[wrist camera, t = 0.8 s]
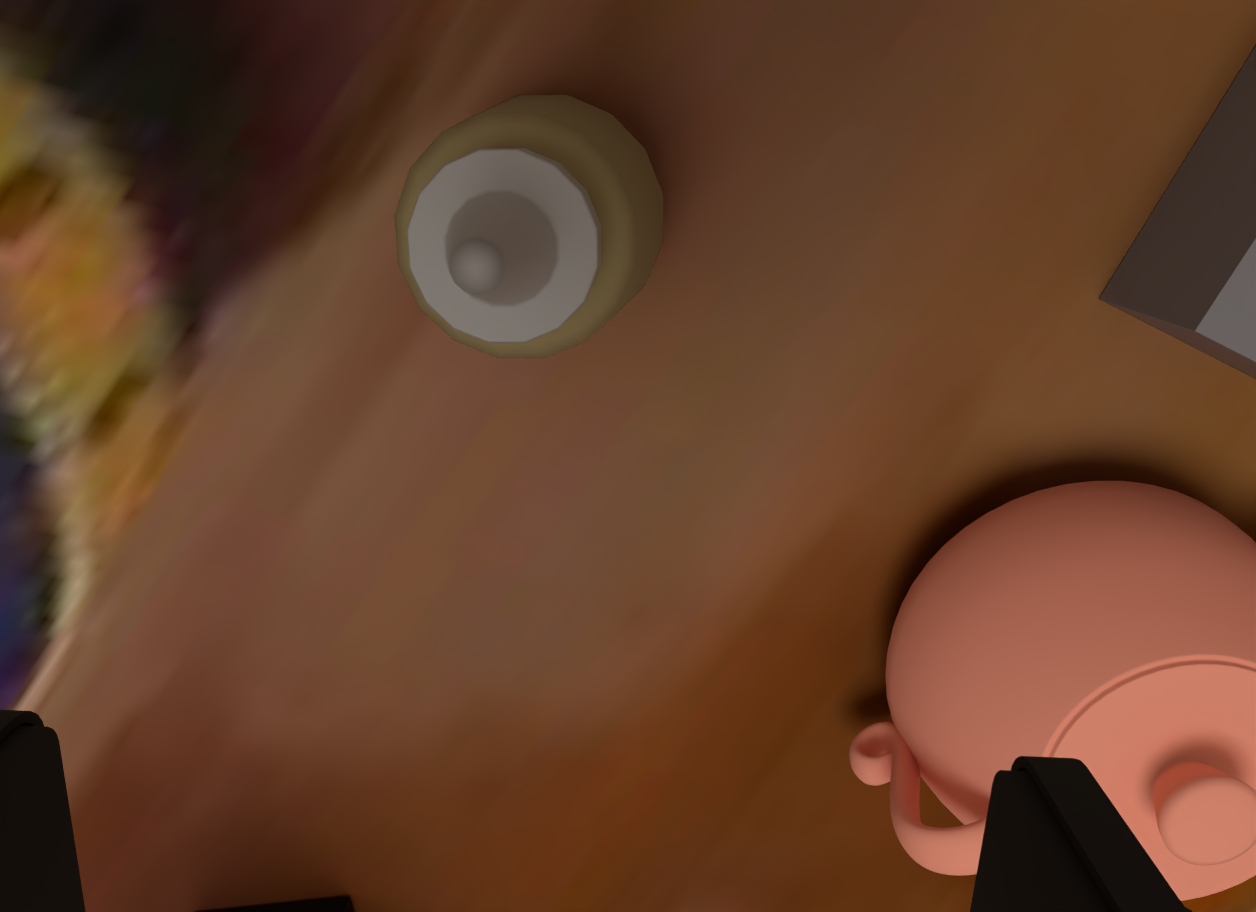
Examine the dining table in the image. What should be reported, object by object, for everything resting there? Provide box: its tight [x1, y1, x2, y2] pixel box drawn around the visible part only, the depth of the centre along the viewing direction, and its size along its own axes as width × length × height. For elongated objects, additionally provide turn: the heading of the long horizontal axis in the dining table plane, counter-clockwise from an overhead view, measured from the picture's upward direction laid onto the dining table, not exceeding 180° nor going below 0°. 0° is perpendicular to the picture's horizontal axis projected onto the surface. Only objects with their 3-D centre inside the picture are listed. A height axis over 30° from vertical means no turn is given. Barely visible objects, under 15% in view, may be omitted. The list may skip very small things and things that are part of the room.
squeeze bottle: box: [395, 95, 663, 358], centre depth 29 cm, size 8×8×18 cm
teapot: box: [849, 481, 1256, 901], centre depth 36 cm, size 22×16×12 cm
